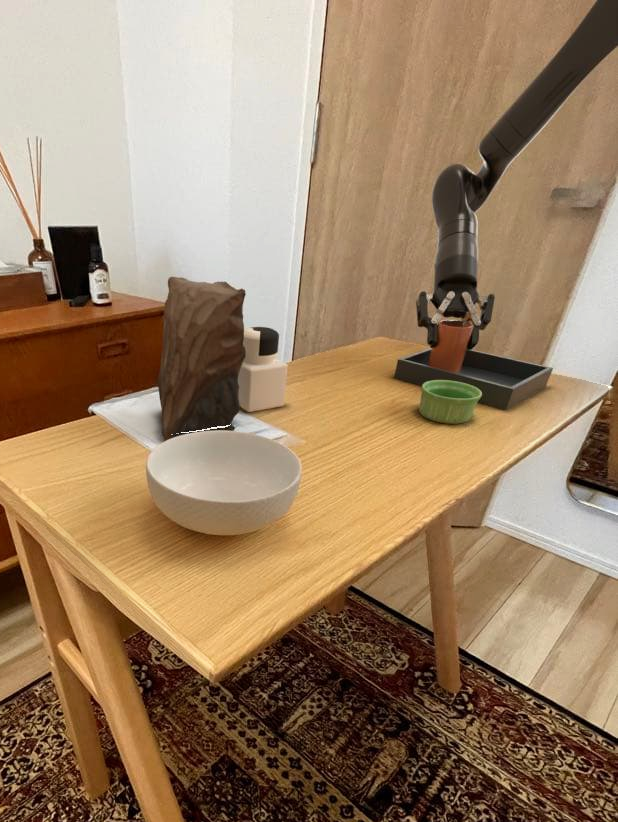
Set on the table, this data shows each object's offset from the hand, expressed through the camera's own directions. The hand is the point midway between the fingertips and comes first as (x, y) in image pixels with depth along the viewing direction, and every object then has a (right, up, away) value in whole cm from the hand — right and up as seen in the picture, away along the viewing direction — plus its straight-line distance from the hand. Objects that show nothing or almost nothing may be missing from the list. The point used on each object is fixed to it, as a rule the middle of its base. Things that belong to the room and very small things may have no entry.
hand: (452, 346), depth 93 cm
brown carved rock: (-49, -19, -16) cm, 55 cm away
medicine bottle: (-38, -13, -8) cm, 41 cm away
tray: (+4, -6, +2) cm, 7 cm away
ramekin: (-7, -16, -11) cm, 21 cm away
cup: (0, -3, +5) cm, 6 cm away
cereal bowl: (-44, -34, -36) cm, 66 cm away
